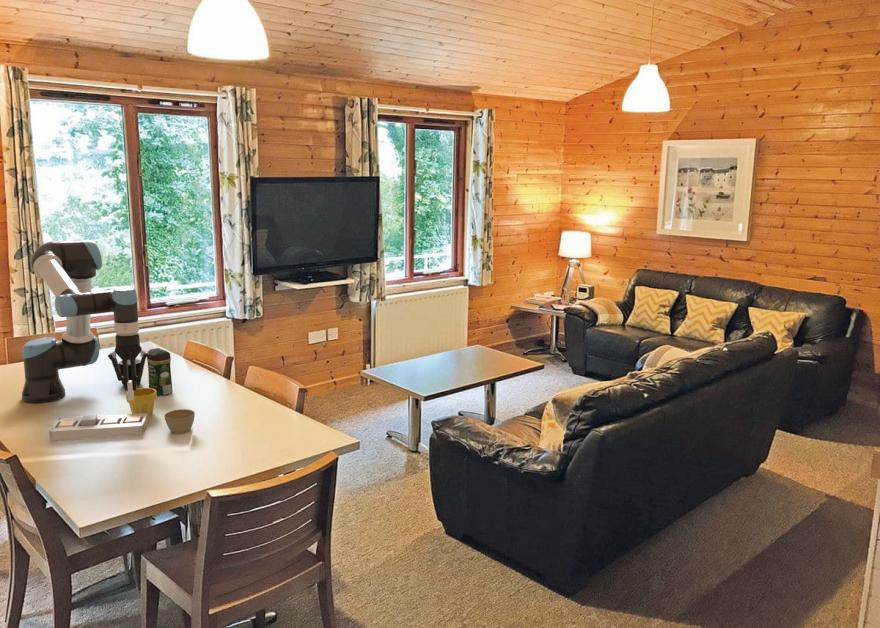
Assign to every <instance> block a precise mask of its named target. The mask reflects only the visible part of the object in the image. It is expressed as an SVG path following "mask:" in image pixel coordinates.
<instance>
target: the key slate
mask: <svg viewBox="0 0 880 628" xmlns="http://www.w3.org/2000/svg"><path fill="white" fill-rule="evenodd" d="M97 416H98V415H97V414H96V415H95V414H93V415H92V414H91V415H83V416H81V417H82V419H81V420H80V421H81V426H92V425H96V424H97V422H98V419H97Z"/></svg>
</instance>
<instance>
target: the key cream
mask: <svg viewBox="0 0 880 628" xmlns="http://www.w3.org/2000/svg"><path fill="white" fill-rule="evenodd" d="M75 426H76V420H75V421H61V423H60V424H59V425H58V428H60V427H75Z"/></svg>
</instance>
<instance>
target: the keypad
mask: <svg viewBox="0 0 880 628" xmlns="http://www.w3.org/2000/svg"><path fill="white" fill-rule="evenodd" d="M140 416H141V422H140V423H125V421H126V419H127V417H140ZM82 417H83V416H79V417H77V416H76V417H61V418H60V417H59V418H58V419H57V420H56V422H55V423H54V424H53V425H52V427H51V428H50V430H49V431H48V436H49V441H50V442H51V441H53V442H56V441H65V440H66V441H67V440H82V439H97V438H111V437H129V436H141V435H142V436H143V435H144V433H145V431H146V429H147V426H148V423H149V416H148V413H141V414H132V413H128V414H111V415H110V414H109V415H97V419H98V422H97V424H96V425H92V426H81V421H80V420H81V419H82ZM108 418H119V422H120V424H108V425H103V422H104V421H105V419H108ZM75 420H76V426H75V427H60V428H58V425H59V424H60V423H61V421H75Z"/></svg>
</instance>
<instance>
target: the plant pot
mask: <svg viewBox="0 0 880 628" xmlns="http://www.w3.org/2000/svg"><path fill="white" fill-rule="evenodd" d="M157 399H158V396H157V391H156V390H155V389H153V388H149V387H139V388H138V387H137V389H136V390H134V400H131V401H128V391H127V392H126V402H127V403H128V404H129V408H130V412H131V414H141V413H148V417H150V416H152V415H153V414H154V413H153V412H154V409H155V403H156V401H157Z"/></svg>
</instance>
